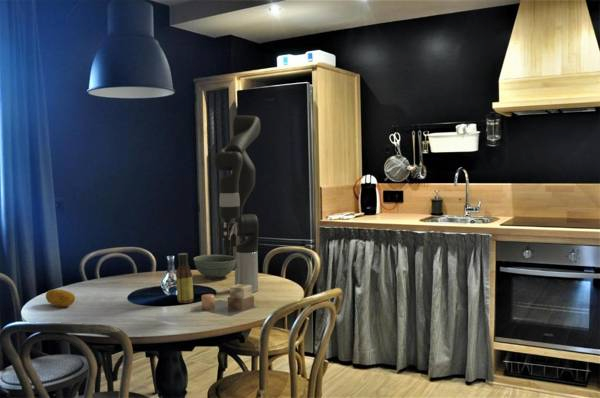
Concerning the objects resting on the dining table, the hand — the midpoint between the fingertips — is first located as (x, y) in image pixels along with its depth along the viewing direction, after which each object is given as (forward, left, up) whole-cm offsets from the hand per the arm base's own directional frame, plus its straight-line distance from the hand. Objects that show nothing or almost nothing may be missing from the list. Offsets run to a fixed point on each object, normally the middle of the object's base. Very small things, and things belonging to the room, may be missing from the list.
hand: (230, 248), depth 216 cm
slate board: (-3, -1, -24) cm, 24 cm away
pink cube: (-7, -6, -23) cm, 24 cm away
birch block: (+2, +3, -19) cm, 19 cm away
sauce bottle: (-23, -2, -24) cm, 33 cm away
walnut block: (+2, +3, -23) cm, 23 cm away
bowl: (-47, +41, -24) cm, 66 cm away
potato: (-61, -32, -24) cm, 73 cm away
